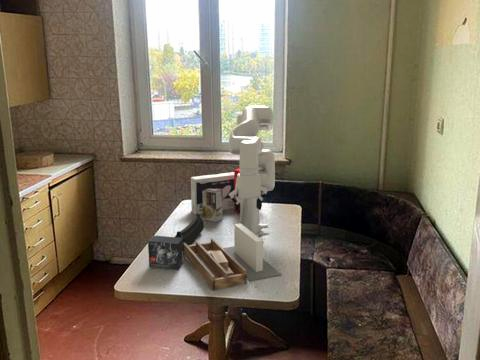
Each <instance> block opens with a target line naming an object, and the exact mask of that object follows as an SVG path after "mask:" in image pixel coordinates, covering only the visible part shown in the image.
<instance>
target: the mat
mask: <svg viewBox="0 0 480 360" xmlns="http://www.w3.org/2000/svg"><path fill="white" fill-rule="evenodd" d="M223 248H224V249H225V250H226V251H227V252H228V253H229V254H230V255H231V256H232V257H233V258H234V259H235V260H236V261H237V262H238V263H239V264H240V265H241V266H243V267H244V268H245V269H246V270H247V280H248V281H249V282H254V281H260V280H264V279H269V278H273V277H280V276H282V273H281V272H280V271H279V270H278V269H276V268H275V267H273V265H271V264H270V263H269V262H268V261H267V260H265V259H264V258H263V270H262V271H257V272H256V271H255V270H254V269H253V268H251V267H250V266H249V265H248V264H247V263H246V262H245V261H244V260H243V259H242V258H241V257H239V256H238V255H237V254H236V253H235V252H234V245H232V246H229V247H223Z"/></svg>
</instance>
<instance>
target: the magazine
mask: <svg viewBox="0 0 480 360" xmlns="http://www.w3.org/2000/svg"><path fill="white" fill-rule="evenodd" d="M204 229H205V225H204V219H203V216H201V214H199V213H197V214H195V216H194V217H193V219H192V221H190V223H188V225H186V226H185V227H184V228H182V230H180V231H176V234H175V236H174V237H178V238H183V243H186V244H187V245H194V243H196V242H197V239H198V238H199V237H200V235H201V233H202V232H203V230H204Z"/></svg>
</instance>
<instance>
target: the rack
mask: <svg viewBox="0 0 480 360" xmlns="http://www.w3.org/2000/svg"><path fill="white" fill-rule="evenodd" d="M224 248H225V247H223V246H222V245H221V244H219V242H217V241H216V240H215V239H214V238H210V241H207V242H202V243H200V242H199V241H197V240H196V241H195V244H192V245H187V244H186V243H183V257H185V258H187V259H186V260H187V261H188V262H189V264H190V265H191V266H192V267H193V268H194V269H195V271H196V272H197V273H198V275H199V276H200V277H201V278H202V280H204V282H205V283H206V284H207V286H208V287H209V288H210V290H212V291H216V290H222V289H226V288H232V287H236V286H241V285H246V284H247V282H248V281H247V280H248V279H247V270H246V269H245V268H244V267H243V266H241V265H240V264H239V263H238V262H237V261H236V260H235V259H234V258H233V257H232V256H231V255H230V254H229V253H228V252H227V251H226V250H225V249H224ZM212 250H216V251H220V250H221V252H222V253H223V255H224V256H225V258H226V259H227V261H228V267H229V268H230V269H231V270H232V272H233V275H231V276H228V272H227V271H226V270H225V269H224V268H223V267H222V266H221V265H220V264H219V263H218V262H217V261H216V260H215V259H214V258H213V257H212V256H211V255H210V254H209V253H208V252H207V251H212ZM201 259H202V260H203V261H202V260H201Z"/></svg>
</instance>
